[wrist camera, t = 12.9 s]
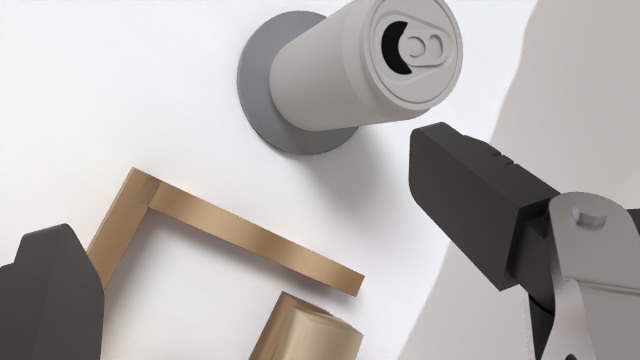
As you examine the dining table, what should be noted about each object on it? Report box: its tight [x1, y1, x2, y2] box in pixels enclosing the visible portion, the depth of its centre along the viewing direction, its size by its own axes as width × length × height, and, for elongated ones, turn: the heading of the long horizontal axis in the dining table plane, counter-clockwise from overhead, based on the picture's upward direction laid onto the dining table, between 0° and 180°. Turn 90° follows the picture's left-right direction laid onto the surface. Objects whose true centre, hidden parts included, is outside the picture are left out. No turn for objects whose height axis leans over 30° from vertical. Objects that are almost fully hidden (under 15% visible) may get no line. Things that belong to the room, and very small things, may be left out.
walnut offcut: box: [249, 291, 334, 360], centre depth 30 cm, size 4×6×3 cm, turn 151°
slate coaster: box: [237, 11, 359, 155], centre depth 30 cm, size 10×10×1 cm
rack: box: [86, 167, 365, 297], centre depth 27 cm, size 17×13×3 cm
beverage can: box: [269, 0, 463, 131], centre depth 24 cm, size 6×6×12 cm
